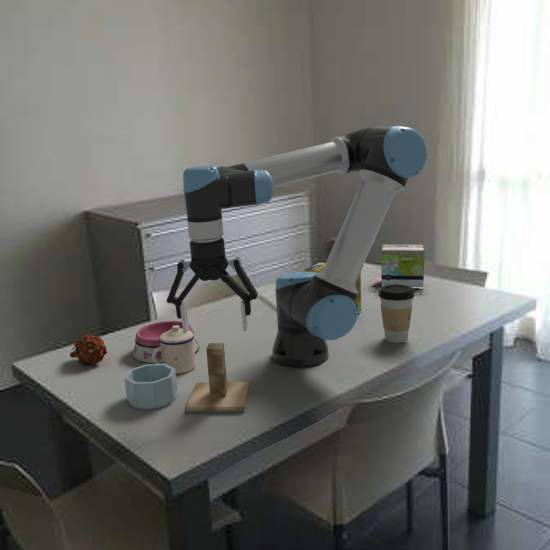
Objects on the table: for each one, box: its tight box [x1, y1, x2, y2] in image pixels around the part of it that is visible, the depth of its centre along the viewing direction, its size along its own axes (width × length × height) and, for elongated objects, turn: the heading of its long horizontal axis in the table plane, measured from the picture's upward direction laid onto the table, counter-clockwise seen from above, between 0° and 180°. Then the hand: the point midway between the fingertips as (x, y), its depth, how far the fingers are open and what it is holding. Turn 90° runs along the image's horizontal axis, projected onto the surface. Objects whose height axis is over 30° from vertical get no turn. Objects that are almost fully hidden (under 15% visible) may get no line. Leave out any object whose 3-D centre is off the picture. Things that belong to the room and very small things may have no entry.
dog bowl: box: [132, 320, 200, 365], centre depth 174 cm, size 18×19×7 cm
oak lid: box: [185, 342, 251, 412], centre depth 142 cm, size 13×13×13 cm
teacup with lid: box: [152, 325, 197, 375], centre depth 161 cm, size 12×9×12 cm
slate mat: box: [185, 386, 251, 414], centre depth 144 cm, size 13×13×1 cm
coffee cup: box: [378, 285, 415, 344], centre depth 174 cm, size 10×10×15 cm
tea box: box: [380, 244, 425, 288], centre depth 225 cm, size 15×10×15 cm, turn 80°
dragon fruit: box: [69, 334, 108, 366], centre depth 169 cm, size 8×8×12 cm
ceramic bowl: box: [124, 363, 178, 410], centre depth 145 cm, size 11×11×6 cm
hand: (215, 330), depth 140 cm, fingers open, 13 cm apart
